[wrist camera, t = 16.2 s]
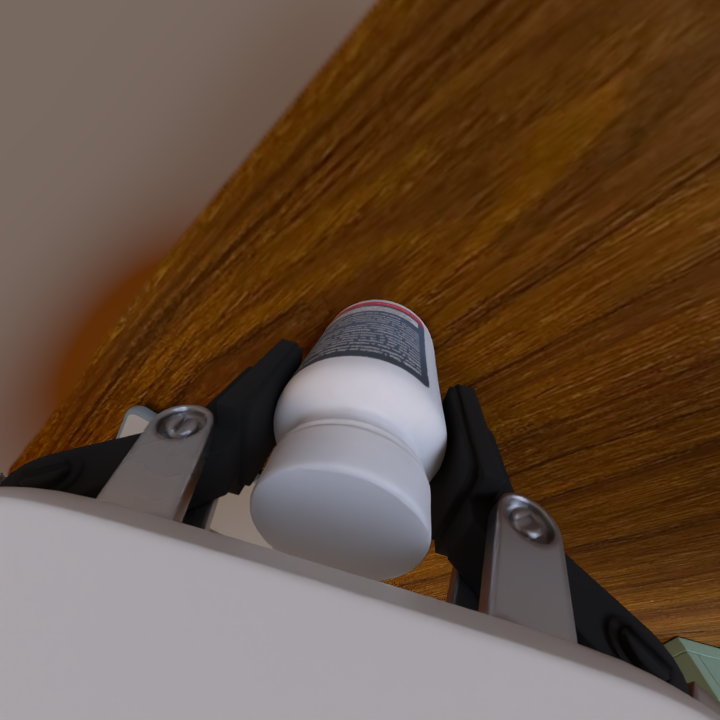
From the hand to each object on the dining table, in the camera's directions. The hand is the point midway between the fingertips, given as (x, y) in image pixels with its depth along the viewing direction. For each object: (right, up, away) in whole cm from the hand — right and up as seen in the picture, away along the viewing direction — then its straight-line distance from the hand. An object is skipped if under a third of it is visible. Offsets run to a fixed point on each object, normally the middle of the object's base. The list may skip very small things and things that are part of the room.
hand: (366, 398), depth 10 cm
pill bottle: (+1, +2, +4) cm, 4 cm away
